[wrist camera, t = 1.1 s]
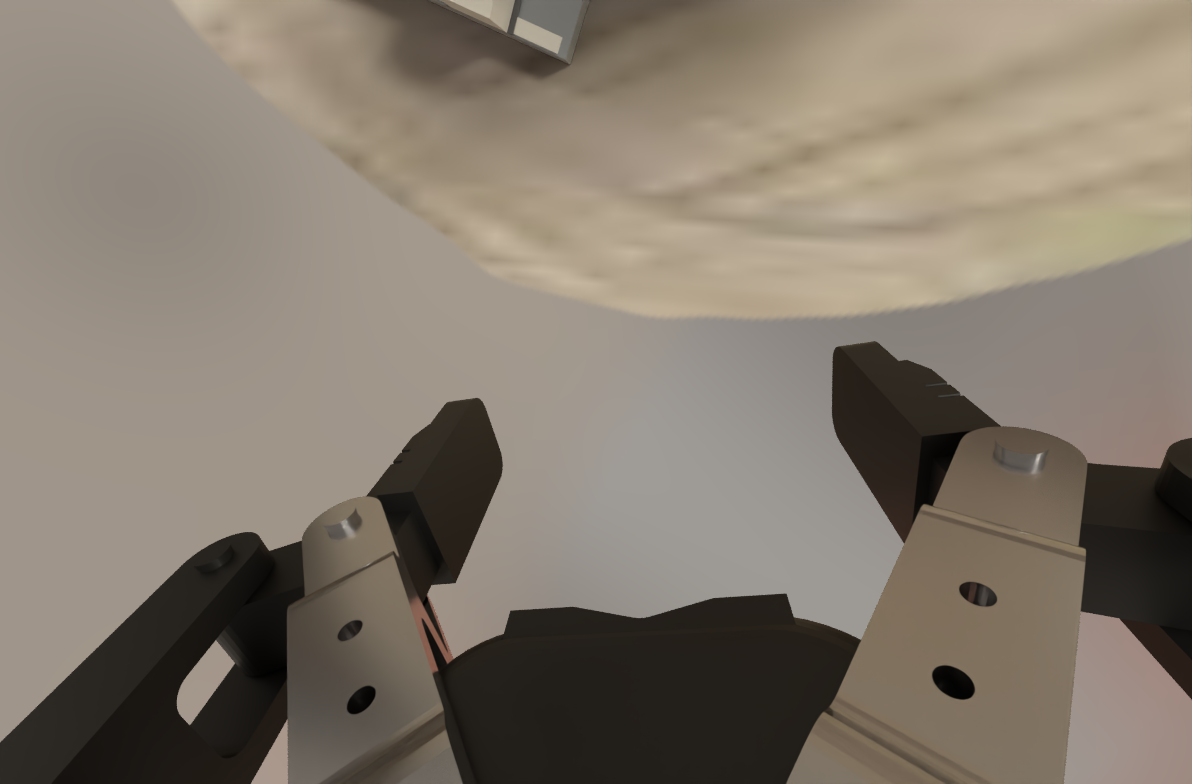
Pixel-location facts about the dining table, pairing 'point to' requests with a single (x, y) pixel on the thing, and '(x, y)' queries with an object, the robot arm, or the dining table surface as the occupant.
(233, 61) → the dining table surface
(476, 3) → the toggle
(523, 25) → the panel
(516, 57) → the dining table surface
